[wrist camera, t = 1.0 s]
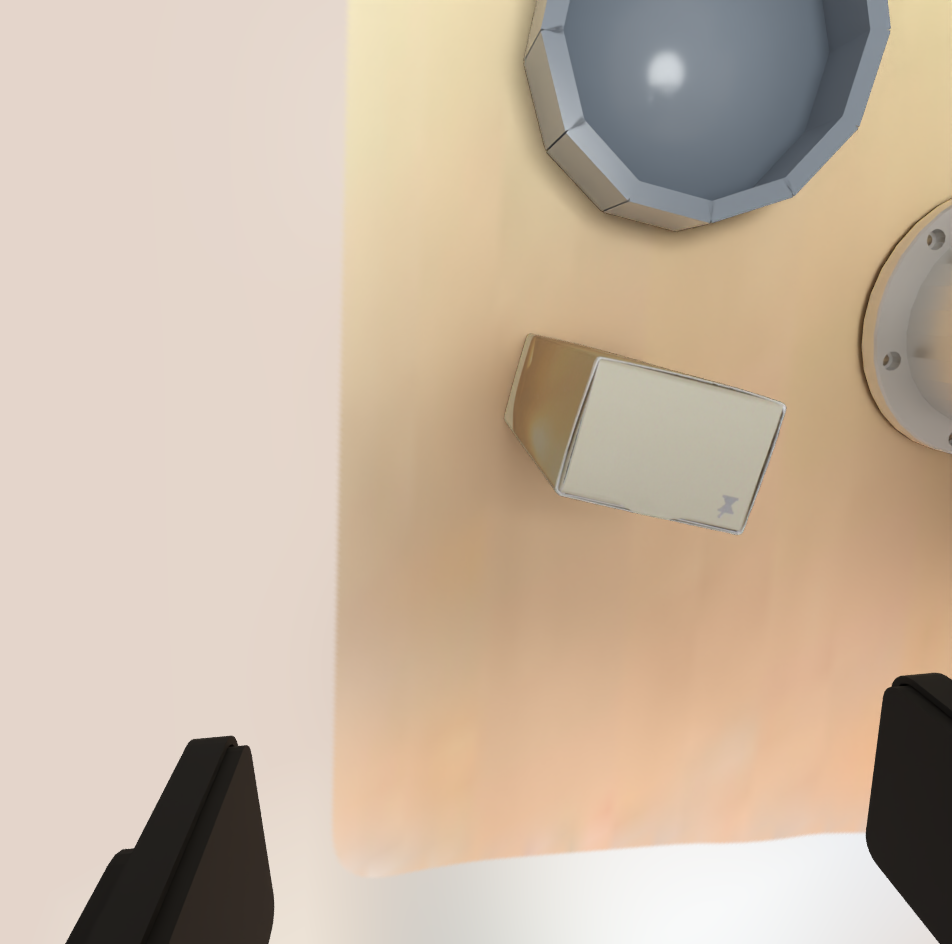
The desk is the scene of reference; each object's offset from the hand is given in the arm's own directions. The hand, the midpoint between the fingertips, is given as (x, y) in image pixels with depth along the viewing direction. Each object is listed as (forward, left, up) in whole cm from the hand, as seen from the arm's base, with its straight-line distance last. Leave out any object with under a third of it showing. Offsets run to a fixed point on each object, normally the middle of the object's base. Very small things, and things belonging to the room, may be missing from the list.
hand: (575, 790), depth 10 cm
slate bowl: (-14, -13, -22) cm, 29 cm away
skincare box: (-6, -1, -23) cm, 23 cm away
